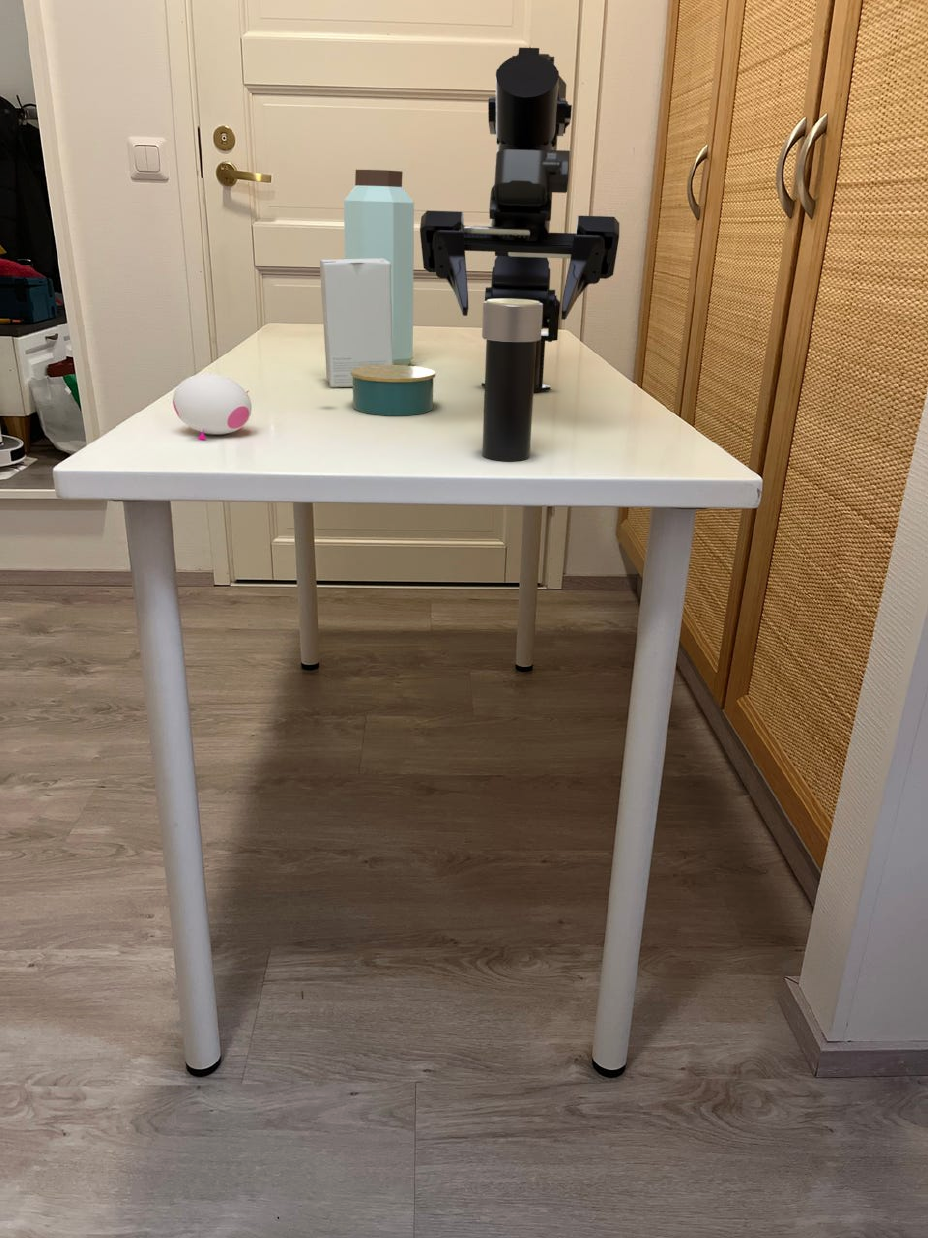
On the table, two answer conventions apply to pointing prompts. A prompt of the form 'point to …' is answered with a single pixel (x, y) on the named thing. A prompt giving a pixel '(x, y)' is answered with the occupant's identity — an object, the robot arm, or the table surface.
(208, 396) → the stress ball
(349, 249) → the water bottle
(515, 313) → the torch
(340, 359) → the cosmetic box
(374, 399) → the tin
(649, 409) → the table surface
